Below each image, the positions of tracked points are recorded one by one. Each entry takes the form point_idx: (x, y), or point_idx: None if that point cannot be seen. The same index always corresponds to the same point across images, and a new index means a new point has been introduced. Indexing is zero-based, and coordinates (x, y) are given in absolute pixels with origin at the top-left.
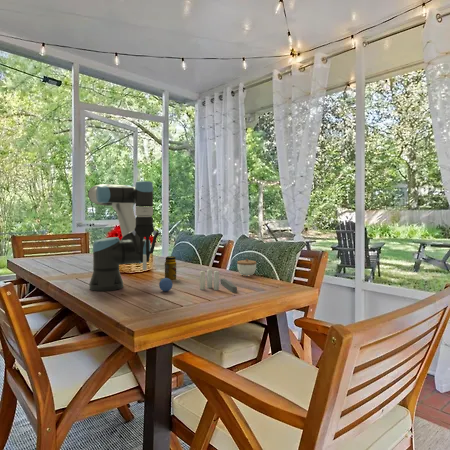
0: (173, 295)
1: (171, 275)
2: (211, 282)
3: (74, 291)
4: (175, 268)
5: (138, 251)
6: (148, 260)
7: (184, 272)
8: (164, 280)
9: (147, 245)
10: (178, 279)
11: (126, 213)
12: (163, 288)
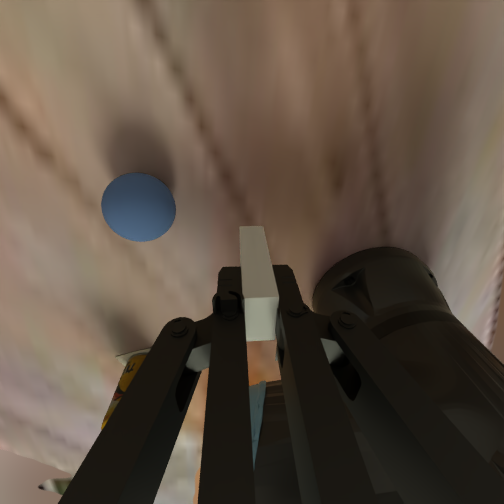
0: (100, 95)
1: (137, 368)
2: None
3: (477, 265)
4: (113, 398)
5: (340, 331)
6: (223, 275)
7: None
8: (137, 198)
9: (231, 416)
10: (118, 359)
11: None
12: (154, 177)
